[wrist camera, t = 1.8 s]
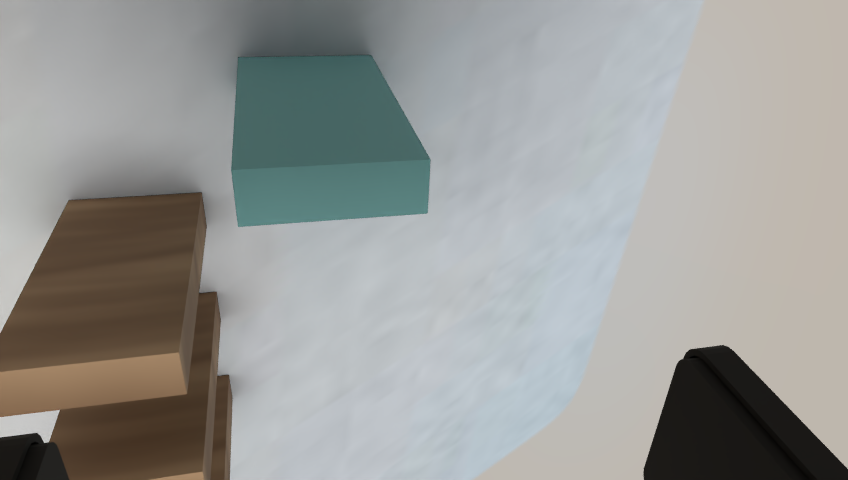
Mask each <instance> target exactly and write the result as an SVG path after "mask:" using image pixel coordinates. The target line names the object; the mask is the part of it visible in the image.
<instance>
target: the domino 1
mask: <svg viewBox="0 0 848 480" xmlns="http://www.w3.org/2000/svg"><path fill="white" fill-rule="evenodd" d="M206 228H207V225H206V218H205V211H204V205H203V198H202V193H185V194H168V195H151V196H134V197H117V198H100V199H83V200H69V201H68V203H67V205H66V207H65V208H64V210H63V212H62V214H61V216H60V218H59V220H58V222H57V224H56V226H55V228H54V230H53V232H52V234H51V236H50V238H49V240H48V242H47V244H46V246H45V247H44V249H43V251H42V253H41V255H40V257H39V259H38V261H37V263H36V265H35V267H34V269H33V271H32V273H31V275H30V277H29V279H28V281H27V283H26V284H25V286H24V288H23V290H22V292H21V294H20V296H19V298H18V300H17V302H16V304H15V306H14V308H13V310H12V312H11V314H10V316H9V318H8V320H7V322H6V323H5V325H4V327H3V329H2V331H1V333H0V417H4V416H12V415H21V414H29V413H37V412H45V411H53V410H62V409H70V408H78V407H86V406H94V405H102V404H111V403H119V402H127V401H135V400H143V399H152V398H160V397H168V396H176V395H184V394H187V390H188V382H189V373H190V365H191V356H192V348H193V339H194V331H195V322H196V314H197V305H198V296H199V288H200V279H201V271H202V262H203V254H204V245H205V237H206Z"/></svg>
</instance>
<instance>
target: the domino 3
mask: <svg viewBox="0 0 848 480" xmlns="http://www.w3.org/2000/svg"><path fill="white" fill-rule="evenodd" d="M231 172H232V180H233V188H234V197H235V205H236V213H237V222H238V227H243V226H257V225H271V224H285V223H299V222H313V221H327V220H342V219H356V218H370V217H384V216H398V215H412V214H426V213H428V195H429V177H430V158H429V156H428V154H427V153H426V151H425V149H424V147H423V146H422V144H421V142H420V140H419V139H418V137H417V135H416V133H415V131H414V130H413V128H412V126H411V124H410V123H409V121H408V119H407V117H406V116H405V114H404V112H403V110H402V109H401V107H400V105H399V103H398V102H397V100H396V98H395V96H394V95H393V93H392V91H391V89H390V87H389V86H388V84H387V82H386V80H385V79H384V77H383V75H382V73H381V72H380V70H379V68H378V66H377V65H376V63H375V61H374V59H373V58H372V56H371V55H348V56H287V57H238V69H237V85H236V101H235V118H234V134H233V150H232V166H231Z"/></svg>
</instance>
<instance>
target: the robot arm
mask: <svg viewBox="0 0 848 480" xmlns="http://www.w3.org/2000/svg"><path fill="white" fill-rule="evenodd" d="M0 480H69V477H68V474H67V471H66V469H65V466H64V463H63V460H62V457H61V454H60V452H59V449H58V447H57V445H56V443H54V442H49V443H44V442H43V440H42V438H41V436H40V435H39V434H37V433H33V434H25V435H17V436H9V437H1V438H0ZM644 480H848V469H847V468H846V467H845V466H844V465H843V464H842V463H841V462H840V461H839V460H838V458H837V457H835V455H834V454H833V453H832V452H831V451H830V450H829V449H828V448H827V447H826V446H825V445H824V444H823V443H822V442H821V441H820V440H819V439H818V438H817V437H816V436H815V435H814V434H813V433H812V432H811V431H810V430H809V429H808V427H807V426H806V425H805V424H804V423H803V422H801V420H800V419H799V418H798V417H797V416H796V415H795V414H794V413H793V412H792V411H791V410H790V409H789V408H788V407H787V406H786V405H785V404H784V403H783V402H782V401H781V400H780V399H779V398H778V396H776V395H775V393H774V392H772V390H771V389H770V388H769V387H768V386H767V385H766V384H765V383H764V382H763V381H762V380H761V379H760V378H759V377H758V376H757V375H756V374H755V373H754V372H753V371H752V370H751V369H750V368H749V366H747V364H745V362H744V361H743V360H742V359H741V358H740V357H739V356H738V355H737V354H736V353H735V352H734V351H733V350H732V349H730V348H729V347H727V346H724V345H722V346H714V347H706V348H697V349H691V350H689V351H688V352H686V354H685V356H684V358H683V359H682V360H680V361H679V362H678V363H677V366H676V368H675V372H674V375H673V378H672V381H671V384H670V388H669V391H668V394H667V397H666V400H665V404H664V407H663V410H662V413H661V416H660V419H659V423H658V426H657V429H656V432H655V435H654V438H653V442H652V445H651V448H650V451H649V454H648V457H647V461H646V464H645V467H644Z"/></svg>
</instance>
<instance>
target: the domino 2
mask: <svg viewBox="0 0 848 480" xmlns="http://www.w3.org/2000/svg"><path fill="white" fill-rule="evenodd" d="M220 323H221V319H220V312H219V305H218V299H217V292H209V293H199V296H198V305H197V314H196V322H195V331H194V339H193V348H192V356H191V365H190V373H189V382H188V390H187V394H184V395H176V396H168V397H160V398H152V399H143V400H135V401H127V402H119V403H111V404H102V405H94V406H86V407H78V408H70V409H62V410H60V412H59V415H58V418H57V421H56V423H55V426H54V429H53V432H52V435H51V438H50V441H49V442H54V443H56V445H57V447H58V449H59V452H60V454H61V457H62V460H63V463H64V466H65V469H66V471H67V474H68V477H69V480H210V479H211V463H212V448H213V432H214V416H215V401H216V385H217V370H218V354H219V338H220Z"/></svg>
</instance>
